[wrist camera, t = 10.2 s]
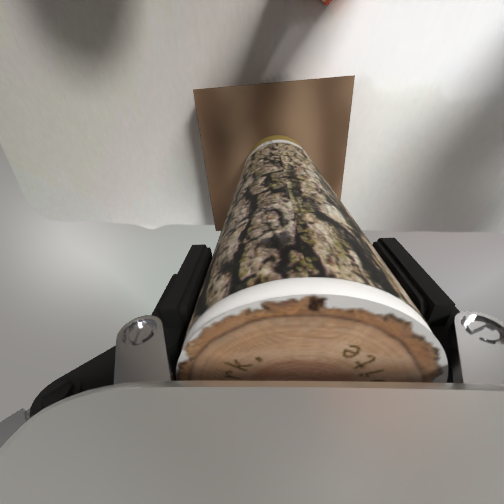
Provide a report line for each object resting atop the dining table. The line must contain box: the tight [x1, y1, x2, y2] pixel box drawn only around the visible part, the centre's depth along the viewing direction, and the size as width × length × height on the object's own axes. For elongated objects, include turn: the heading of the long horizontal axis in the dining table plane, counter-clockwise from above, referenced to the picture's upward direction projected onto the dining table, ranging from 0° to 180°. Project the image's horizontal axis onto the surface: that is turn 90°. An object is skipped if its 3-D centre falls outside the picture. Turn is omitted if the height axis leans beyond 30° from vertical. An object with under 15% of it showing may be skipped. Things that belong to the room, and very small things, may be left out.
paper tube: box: [176, 135, 448, 383], centre depth 17 cm, size 7×7×25 cm
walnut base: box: [193, 75, 355, 231], centre depth 31 cm, size 16×16×4 cm
